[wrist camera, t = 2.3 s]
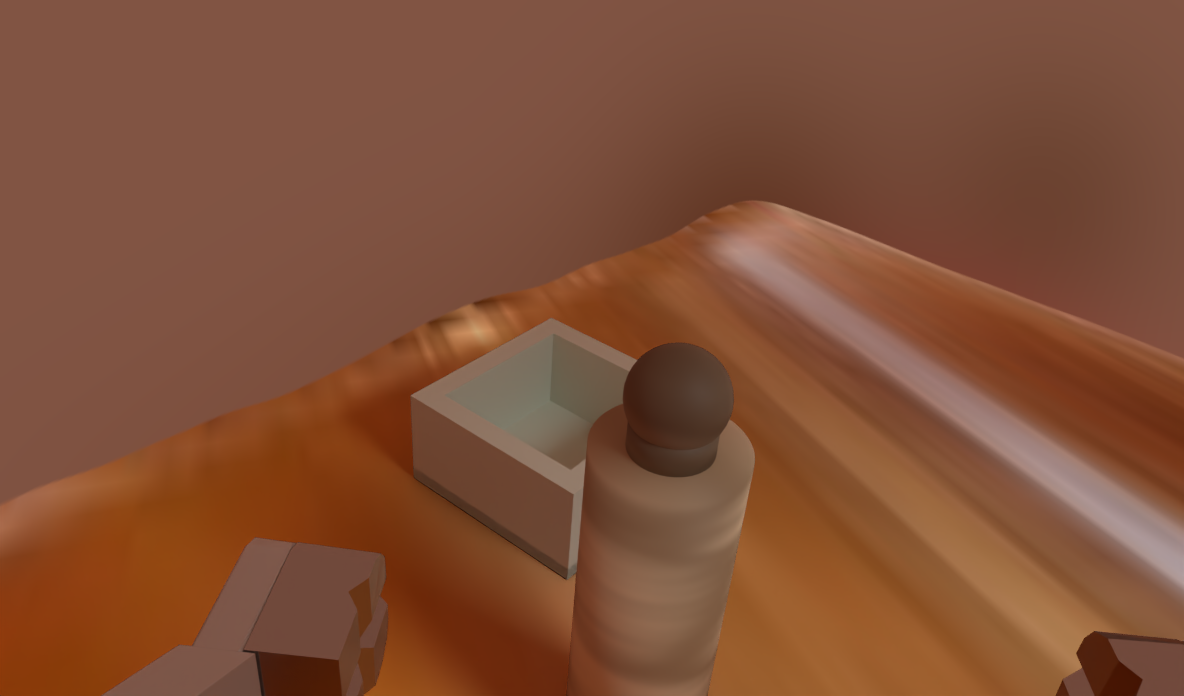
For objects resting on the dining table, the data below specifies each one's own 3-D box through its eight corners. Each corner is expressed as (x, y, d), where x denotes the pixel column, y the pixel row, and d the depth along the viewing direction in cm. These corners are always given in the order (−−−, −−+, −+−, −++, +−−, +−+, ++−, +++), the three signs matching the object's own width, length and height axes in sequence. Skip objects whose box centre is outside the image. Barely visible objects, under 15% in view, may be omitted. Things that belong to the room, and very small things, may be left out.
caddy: (547, 393, 49) (551, 317, 47) (693, 473, 45) (706, 394, 42) (413, 477, 43) (410, 395, 41) (567, 579, 39) (573, 494, 36)
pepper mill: (616, 675, 35) (664, 289, 26) (718, 747, 33) (806, 352, 24) (534, 756, 32) (558, 351, 24) (641, 841, 30) (709, 429, 21)
